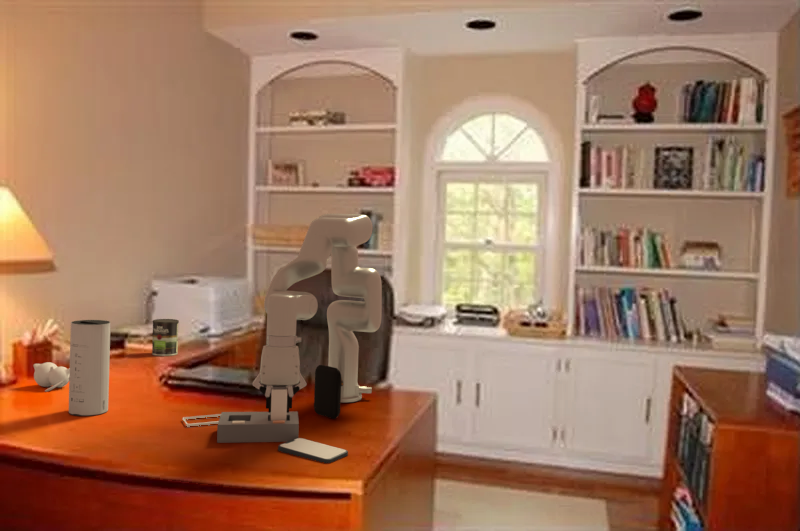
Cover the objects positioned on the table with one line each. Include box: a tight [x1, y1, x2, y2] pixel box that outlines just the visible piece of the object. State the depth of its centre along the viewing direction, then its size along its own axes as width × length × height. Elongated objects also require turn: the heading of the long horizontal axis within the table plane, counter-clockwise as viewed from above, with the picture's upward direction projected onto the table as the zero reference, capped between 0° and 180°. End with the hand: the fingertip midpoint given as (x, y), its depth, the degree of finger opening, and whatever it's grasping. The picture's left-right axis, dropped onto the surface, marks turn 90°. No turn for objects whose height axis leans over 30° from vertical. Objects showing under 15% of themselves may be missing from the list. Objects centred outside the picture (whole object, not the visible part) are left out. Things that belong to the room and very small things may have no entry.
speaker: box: [68, 319, 111, 417], centre depth 192 cm, size 11×10×26 cm
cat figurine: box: [32, 361, 70, 393], centre depth 219 cm, size 9×11×12 cm
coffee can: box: [151, 318, 180, 357], centre depth 283 cm, size 10×10×14 cm
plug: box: [271, 386, 288, 421], centre depth 177 cm, size 4×4×9 cm
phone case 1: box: [181, 413, 221, 428], centre depth 188 cm, size 7×1×15 cm
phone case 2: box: [277, 437, 349, 464], centre depth 165 cm, size 9×2×16 cm
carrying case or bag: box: [313, 364, 343, 420], centre depth 196 cm, size 11×3×15 cm, turn 51°
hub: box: [216, 410, 300, 444], centre depth 177 cm, size 20×12×5 cm, turn 100°
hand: (278, 410), depth 177 cm, fingers closed on plug, 4 cm apart
